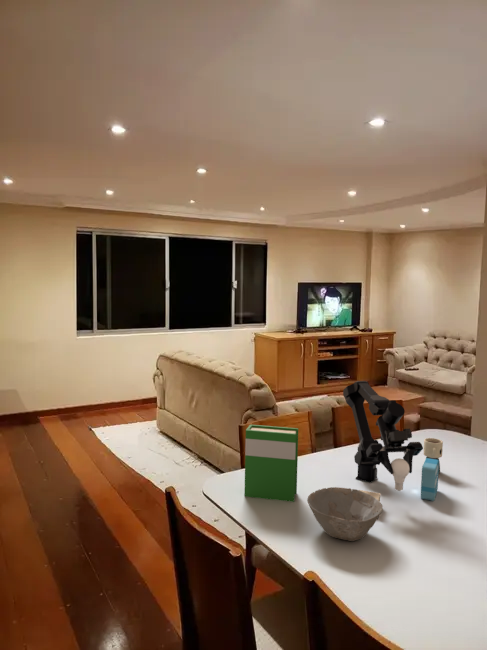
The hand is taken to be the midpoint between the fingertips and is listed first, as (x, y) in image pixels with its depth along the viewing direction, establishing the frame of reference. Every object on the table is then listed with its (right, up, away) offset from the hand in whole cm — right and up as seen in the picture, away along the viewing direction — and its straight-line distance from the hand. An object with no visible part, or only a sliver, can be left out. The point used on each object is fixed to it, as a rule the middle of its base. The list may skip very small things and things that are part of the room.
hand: (401, 473), depth 172 cm
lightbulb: (0, -7, +2) cm, 7 cm away
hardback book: (-43, -11, +12) cm, 46 cm away
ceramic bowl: (-23, -14, -16) cm, 31 cm away
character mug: (+24, -10, +37) cm, 45 cm away
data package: (+14, -12, +14) cm, 23 cm away
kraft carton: (-11, -13, +2) cm, 17 cm away
